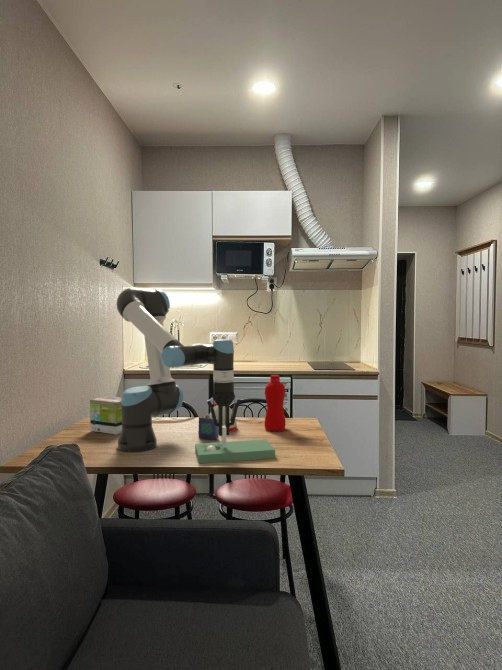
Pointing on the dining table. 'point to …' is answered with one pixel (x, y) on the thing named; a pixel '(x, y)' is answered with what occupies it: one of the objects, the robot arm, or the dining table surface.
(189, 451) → the dining table surface
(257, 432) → the dining table surface
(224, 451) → the putting mat
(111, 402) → the tea box
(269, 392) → the water bottle
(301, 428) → the dining table surface
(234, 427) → the kitchen timer
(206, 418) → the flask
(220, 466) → the dining table surface
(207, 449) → the ball
